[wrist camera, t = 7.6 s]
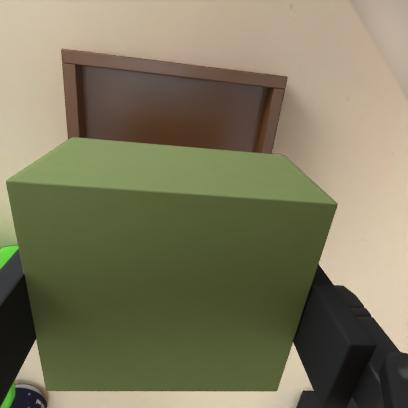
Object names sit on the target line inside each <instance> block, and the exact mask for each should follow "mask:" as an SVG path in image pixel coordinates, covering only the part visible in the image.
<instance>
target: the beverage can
mask: <svg viewBox="0 0 408 408" xmlns="http://www.w3.org/2000/svg"><path fill="white" fill-rule="evenodd" d="M9 408H47V402H46V400H45V398H44V397H43V394H42V392H41V391H40V390H39V389H38V388H36V387H34V386H31V385H25V384H18V385H15V397H14V399H13V402H12V404H11V406H10V407H9Z"/></svg>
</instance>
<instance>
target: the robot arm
mask: <svg viewBox="0 0 408 408" xmlns="http://www.w3.org/2000/svg"><path fill="white" fill-rule="evenodd" d="M35 340H36V333H35V327H34V322H33V316H32V311H31V306H30V300H29V295H28V290H27V284H26V279H25V274H24V273H23V268H22V262H21V257H20V252H19V248H18V250H17V251H16V252H15V253H14V254H13V255H12V256H11V258H10V259H9V260H8V261H7V262H6V263H5V264H4V266H3V267H2V268H1V269H0V407H1V405H2V404H3V402H4V400H5V398H6V396H7V394H8V392H9V390H10V388H11V386H12V384H13V382H14V380H15V378H16V376H17V375H18V373H19V371H20V369H21V367H22V365H23V363H24V361H25V359H26V357H27V355H28V353H29V351H30V349H31V347H32V345H33V344H34V342H35ZM293 342H294V345H295V347H296V349H297V352H298V354H299V357H300V359H301V361H302V364H303V366H304V368H305V371H306V373H307V375H308V378H309V380H310V382H311V385H312V387H313V389H314V392H315V394H316V396H317V399H318V401H319V403H320V406H321V408H347V406H348V404H349V402H350V400H351V398H352V397H353V399H354V401H355V403H356V404H357V406H358V408H408V354H406V353H402V352H400V351H399V350H398V349H397V347H396V346H395V345H394V344H393V342H392V341H391V340H390V338H389V337H388V336H387V335H386V333H385V332H384V331H383V330H382V328H381V327H380V326H379V324H378V323H377V322H376V321H375V319H374V318H372V317H371V314H370V313H369V312H368V311H367V309H366V308H364V305H363V304H362V303H361V302H360V300H359V299H358V298H357V297H356V295H355V294H353V293H352V292H351V291H349V290H348V289H347V288H345V287H344V286H338V285H333V284H332V282H331V281H330V279H329V278H328V277H327V275H326V274H325V273H324V271H323V270H322V268H321V267H320V266H319V264H318V266H317V269H316V273H315V276H314V279H313V282H312V285H311V288H310V291H309V294H308V297H307V300H306V303H305V306H304V309H303V312H302V316H301V319H300V322H299V325H298V328H297V331H296V334H295V337H294V340H293Z"/></svg>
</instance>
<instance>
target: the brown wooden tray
mask: <svg viewBox="0 0 408 408" xmlns="http://www.w3.org/2000/svg"><path fill="white" fill-rule="evenodd" d="M61 54H62V67H63V80H64V93H65V105H66V118H67V131H68V140H69V139H70V138H72V137H76V138H88V139H100V140H111V141H123V142H135V143H147V144H158V145H170V146H182V147H194V148H205V149H217V150H229V151H241V152H253V153H264V154H272V149H273V144H274V140H275V135H276V130H277V125H278V120H279V116H280V111H281V106H282V101H283V97H284V92H285V90H284V89H285V87H286V82H287V77H285V76H277V75H269V74H261V73H253V72H245V71H237V70H229V69H221V68H213V67H205V66H197V65H189V64H181V63H173V62H164V61H156V60H148V59H140V58H132V57H124V56H116V55H108V54H100V53H92V52H84V51H76V50H68V49H61Z"/></svg>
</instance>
